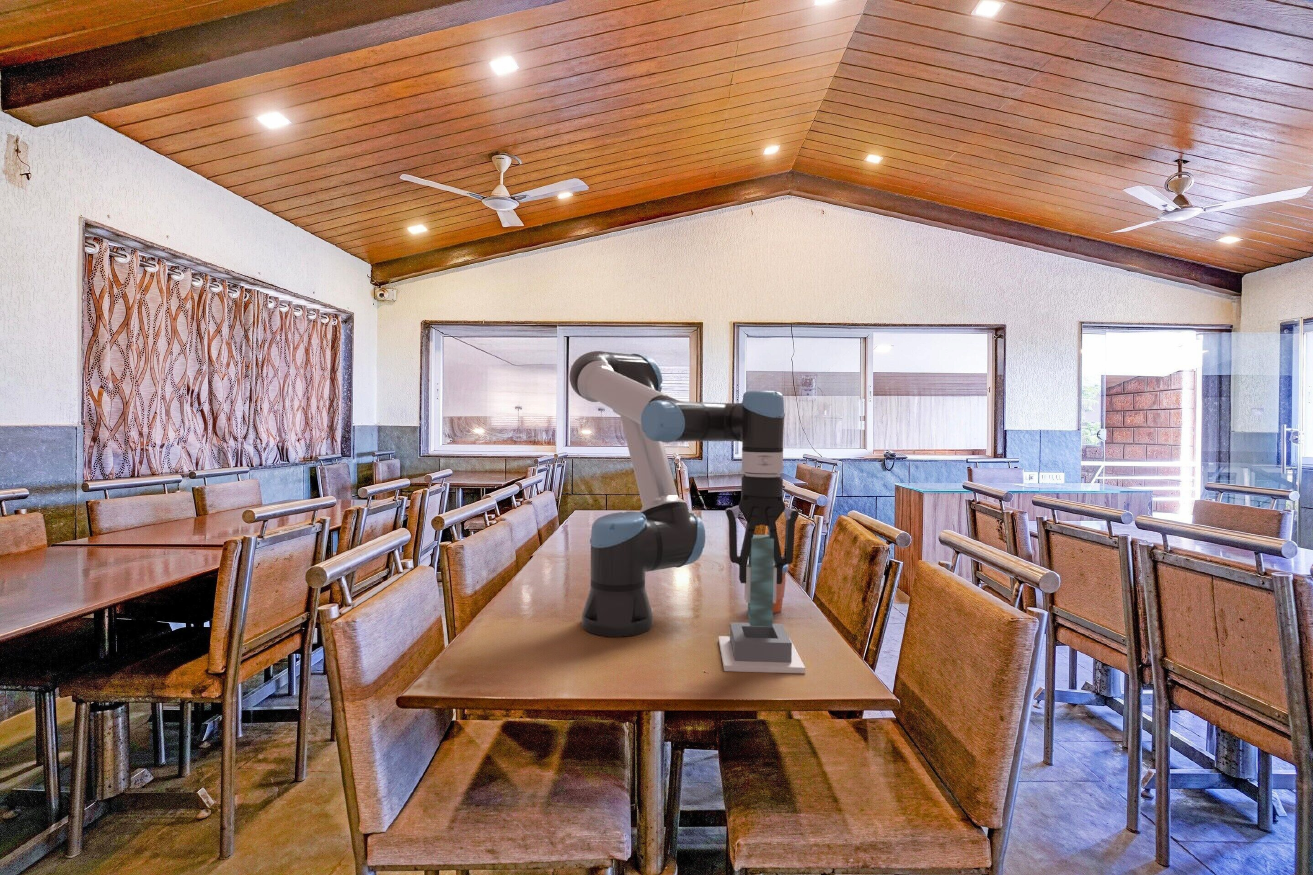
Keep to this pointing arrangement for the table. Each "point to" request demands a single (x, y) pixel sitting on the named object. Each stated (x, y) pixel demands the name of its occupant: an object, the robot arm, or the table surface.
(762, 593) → the peg
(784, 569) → the cup with straw
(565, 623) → the table surface
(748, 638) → the socket block
